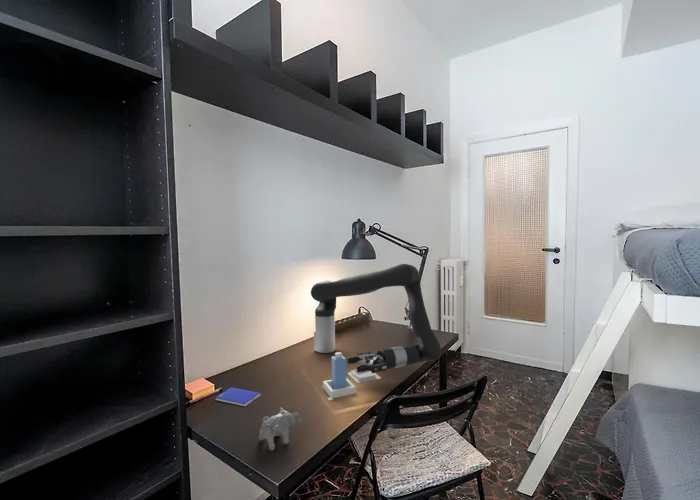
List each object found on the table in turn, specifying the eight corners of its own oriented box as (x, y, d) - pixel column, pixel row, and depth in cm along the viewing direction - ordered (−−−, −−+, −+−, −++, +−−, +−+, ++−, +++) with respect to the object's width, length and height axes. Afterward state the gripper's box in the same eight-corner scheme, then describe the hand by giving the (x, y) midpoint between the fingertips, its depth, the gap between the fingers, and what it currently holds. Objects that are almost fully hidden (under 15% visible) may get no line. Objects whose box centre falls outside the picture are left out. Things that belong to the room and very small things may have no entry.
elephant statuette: (252, 445, 95) (251, 417, 94) (283, 424, 105) (282, 398, 104) (277, 456, 90) (276, 427, 89) (307, 433, 100) (307, 407, 99)
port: (348, 382, 132) (348, 374, 132) (361, 396, 121) (361, 387, 121) (317, 388, 128) (317, 380, 127) (328, 403, 117) (328, 394, 116)
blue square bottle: (342, 387, 127) (341, 350, 126) (346, 392, 123) (345, 354, 123) (331, 389, 126) (331, 352, 125) (335, 394, 122) (335, 356, 121)
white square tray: (370, 370, 143) (369, 365, 143) (381, 380, 134) (381, 375, 134) (347, 374, 139) (347, 370, 139) (357, 385, 130) (357, 379, 130)
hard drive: (215, 396, 120) (245, 403, 116) (231, 386, 128) (260, 392, 123) (215, 401, 120) (245, 407, 116) (232, 391, 128) (260, 396, 123)
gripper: (383, 342, 138) (344, 348, 132) (401, 354, 125) (360, 361, 119) (383, 361, 139) (345, 368, 133) (401, 374, 126) (360, 382, 120)
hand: (352, 364), depth 126 cm, fingers open, 8 cm apart
